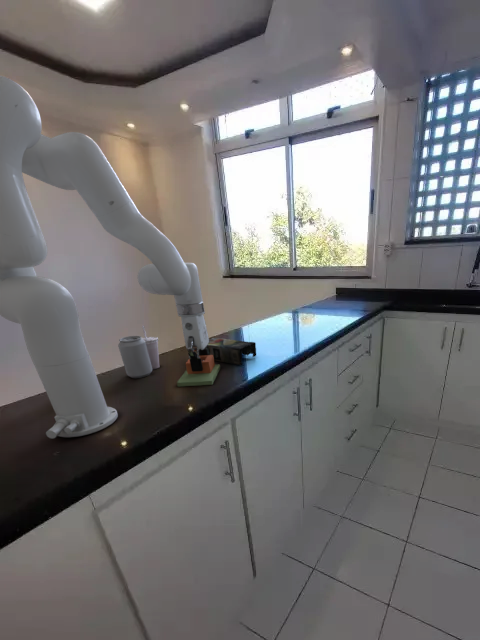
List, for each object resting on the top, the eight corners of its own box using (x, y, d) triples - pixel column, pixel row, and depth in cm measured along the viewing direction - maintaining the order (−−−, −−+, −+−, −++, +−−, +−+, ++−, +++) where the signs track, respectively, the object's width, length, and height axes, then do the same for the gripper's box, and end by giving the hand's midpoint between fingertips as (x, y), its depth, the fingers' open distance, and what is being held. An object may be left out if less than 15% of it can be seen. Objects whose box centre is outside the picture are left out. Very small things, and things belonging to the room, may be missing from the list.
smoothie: (139, 369, 102) (128, 327, 97) (151, 364, 108) (142, 323, 102) (155, 370, 101) (146, 327, 95) (167, 365, 107) (159, 323, 101)
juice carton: (196, 358, 112) (193, 341, 109) (215, 351, 119) (213, 335, 117) (240, 366, 103) (238, 348, 100) (258, 358, 111) (256, 341, 108)
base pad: (212, 384, 89) (210, 371, 88) (177, 386, 89) (174, 373, 87) (220, 367, 102) (218, 355, 100) (189, 369, 102) (187, 357, 100)
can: (157, 370, 102) (148, 334, 96) (145, 379, 95) (134, 341, 90) (136, 370, 103) (126, 334, 97) (122, 379, 96) (110, 341, 91)
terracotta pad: (210, 372, 95) (208, 362, 93) (187, 374, 94) (185, 363, 93) (214, 365, 101) (213, 354, 100) (193, 366, 101) (191, 356, 99)
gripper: (196, 314, 82) (207, 375, 89) (209, 304, 97) (217, 356, 105) (167, 315, 82) (181, 376, 89) (185, 305, 97) (195, 357, 105)
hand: (201, 365), depth 97 cm, fingers open, 8 cm apart
